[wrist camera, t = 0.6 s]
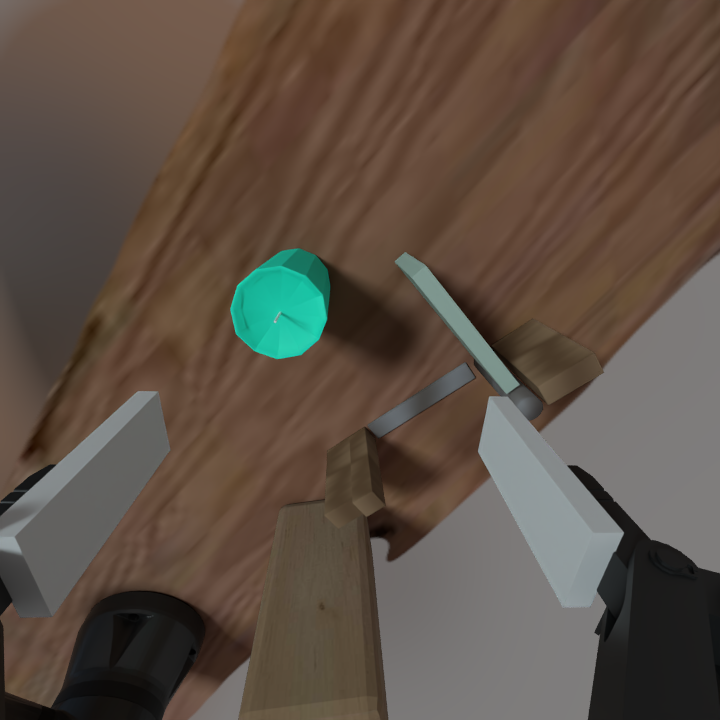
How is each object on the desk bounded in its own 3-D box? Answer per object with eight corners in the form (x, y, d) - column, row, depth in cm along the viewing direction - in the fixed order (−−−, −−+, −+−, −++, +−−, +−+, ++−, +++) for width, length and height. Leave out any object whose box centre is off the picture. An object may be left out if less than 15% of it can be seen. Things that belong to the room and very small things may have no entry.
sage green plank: (481, 347, 35) (519, 384, 28) (471, 355, 35) (506, 394, 28) (405, 252, 31) (425, 265, 24) (394, 261, 31) (411, 277, 24)
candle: (282, 325, 34) (255, 382, 22) (250, 265, 31) (202, 295, 20) (341, 300, 33) (342, 346, 22) (312, 236, 31) (297, 251, 20)
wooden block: (363, 490, 42) (383, 713, 23) (372, 551, 46) (394, 783, 27) (278, 502, 42) (230, 733, 23) (294, 561, 46) (263, 800, 27)
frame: (338, 462, 40) (338, 533, 31) (327, 450, 39) (324, 519, 30) (541, 334, 35) (608, 375, 27) (533, 318, 35) (598, 355, 26)
